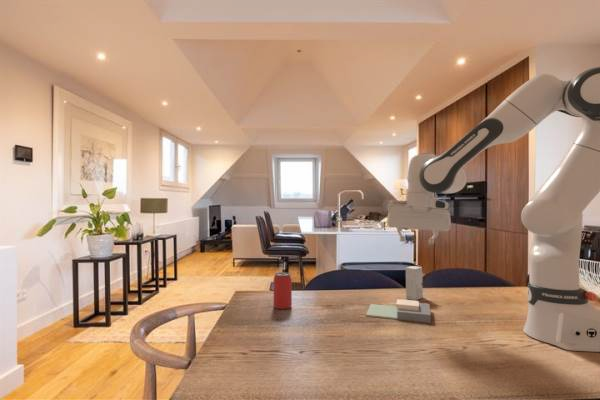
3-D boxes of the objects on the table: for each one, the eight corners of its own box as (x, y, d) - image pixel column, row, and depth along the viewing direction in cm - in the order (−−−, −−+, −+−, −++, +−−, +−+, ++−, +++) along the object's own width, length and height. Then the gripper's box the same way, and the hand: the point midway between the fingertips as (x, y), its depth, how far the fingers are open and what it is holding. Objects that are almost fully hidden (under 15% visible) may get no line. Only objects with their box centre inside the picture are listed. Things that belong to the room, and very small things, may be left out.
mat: (399, 308, 116) (399, 306, 116) (397, 319, 105) (397, 317, 105) (370, 305, 120) (370, 303, 120) (365, 316, 108) (365, 314, 108)
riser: (429, 311, 113) (429, 303, 113) (430, 323, 101) (430, 315, 101) (399, 308, 116) (399, 301, 116) (397, 319, 105) (397, 311, 105)
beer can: (292, 304, 121) (292, 272, 121) (290, 310, 115) (290, 276, 115) (275, 304, 122) (275, 271, 122) (272, 309, 115) (271, 275, 116)
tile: (418, 305, 111) (418, 300, 111) (418, 310, 106) (418, 306, 106) (397, 303, 114) (397, 299, 114) (396, 308, 108) (396, 304, 108)
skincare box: (416, 300, 125) (415, 269, 125) (405, 298, 128) (404, 267, 128) (423, 297, 129) (423, 266, 129) (412, 295, 132) (412, 265, 132)
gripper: (389, 199, 108) (386, 241, 108) (453, 204, 105) (450, 246, 105) (386, 199, 115) (384, 238, 115) (448, 203, 112) (445, 244, 112)
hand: (416, 242), depth 110 cm, fingers open, 8 cm apart
